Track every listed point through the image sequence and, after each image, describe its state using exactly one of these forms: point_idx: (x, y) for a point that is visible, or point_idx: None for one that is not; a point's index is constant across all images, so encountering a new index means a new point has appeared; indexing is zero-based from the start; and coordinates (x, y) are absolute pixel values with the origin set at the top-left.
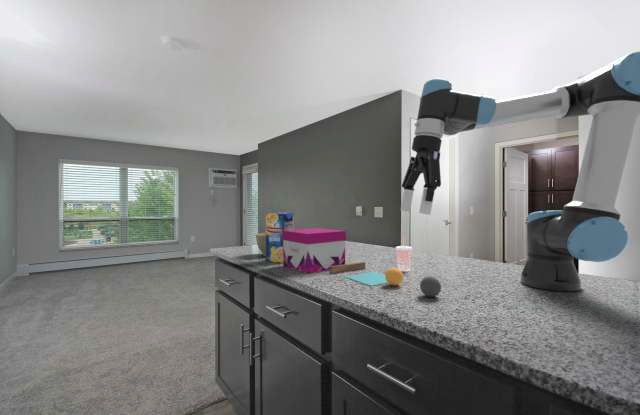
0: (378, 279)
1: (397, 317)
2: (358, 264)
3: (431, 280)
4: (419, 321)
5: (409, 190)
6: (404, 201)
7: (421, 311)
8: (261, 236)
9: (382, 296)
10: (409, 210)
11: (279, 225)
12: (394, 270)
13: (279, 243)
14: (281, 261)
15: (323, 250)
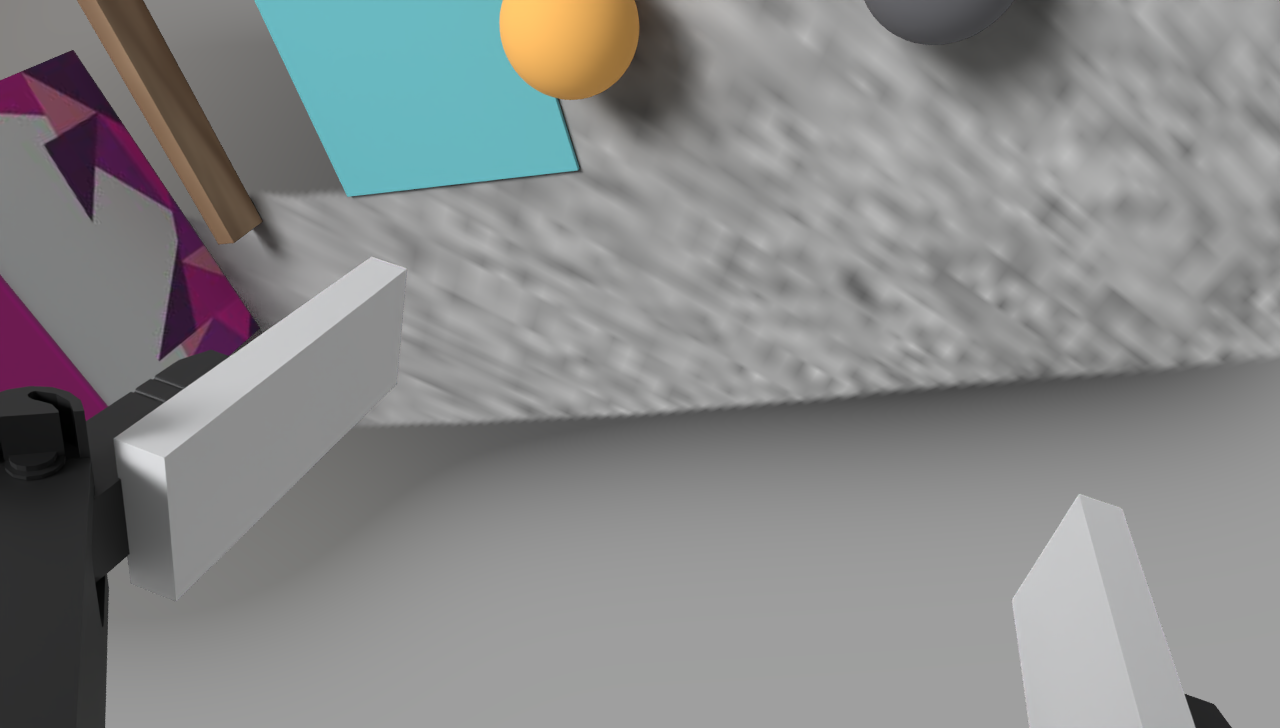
0: (441, 32)
1: (1128, 367)
2: (110, 10)
3: (982, 3)
4: (1251, 319)
5: (177, 521)
6: (320, 436)
7: (1145, 209)
8: None
9: (795, 229)
10: (398, 285)
11: None
12: (582, 68)
13: None
14: None
15: (91, 300)
